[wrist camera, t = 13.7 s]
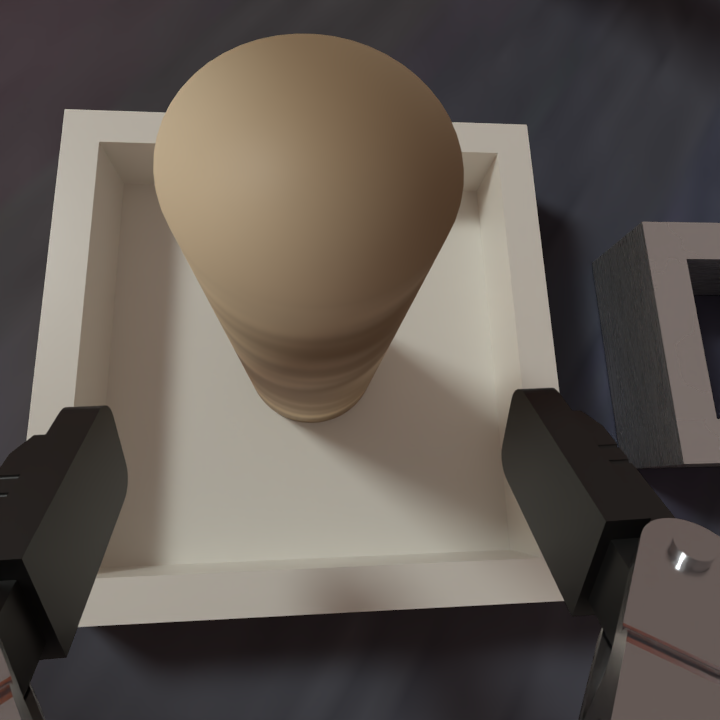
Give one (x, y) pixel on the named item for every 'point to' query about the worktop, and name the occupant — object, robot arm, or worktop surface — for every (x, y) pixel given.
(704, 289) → the collar
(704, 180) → the worktop surface
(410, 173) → the peg
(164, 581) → the tray
